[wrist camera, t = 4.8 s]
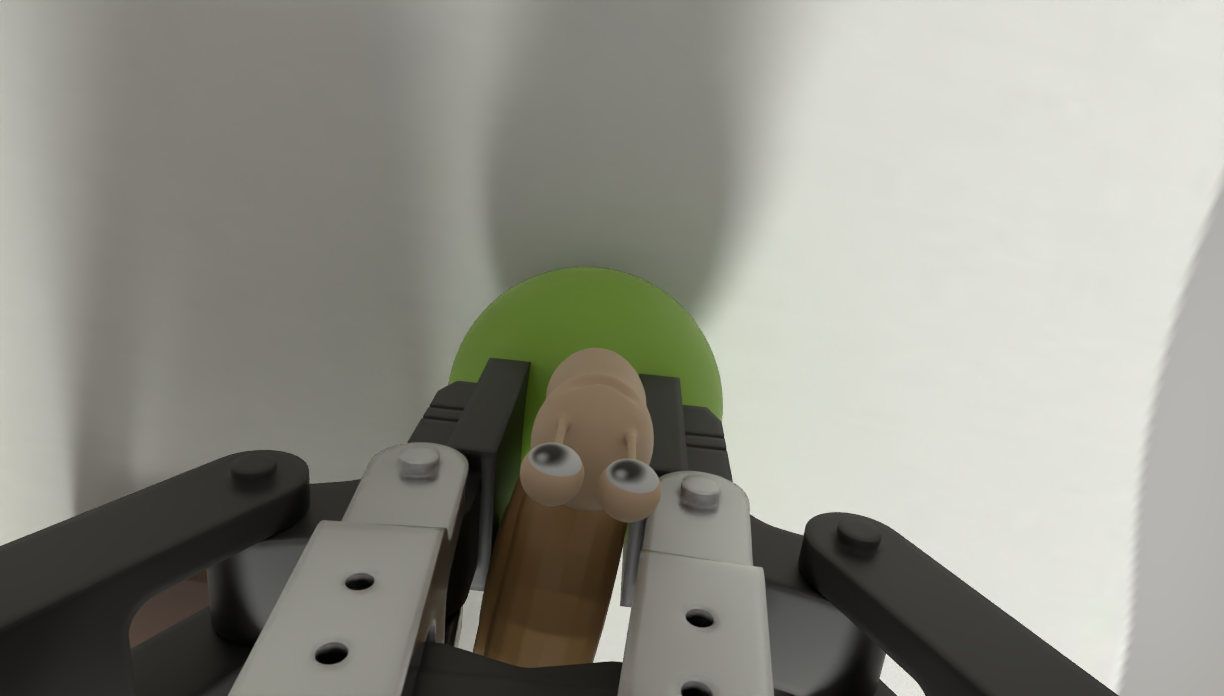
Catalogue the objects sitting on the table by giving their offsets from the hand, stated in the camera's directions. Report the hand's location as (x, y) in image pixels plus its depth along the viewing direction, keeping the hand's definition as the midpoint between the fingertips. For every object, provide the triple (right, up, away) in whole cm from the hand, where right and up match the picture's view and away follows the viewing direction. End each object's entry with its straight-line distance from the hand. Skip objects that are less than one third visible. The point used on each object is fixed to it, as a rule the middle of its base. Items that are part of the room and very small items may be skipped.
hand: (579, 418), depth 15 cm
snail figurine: (0, +2, +4) cm, 5 cm away
